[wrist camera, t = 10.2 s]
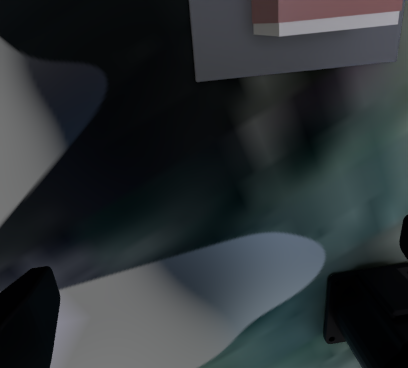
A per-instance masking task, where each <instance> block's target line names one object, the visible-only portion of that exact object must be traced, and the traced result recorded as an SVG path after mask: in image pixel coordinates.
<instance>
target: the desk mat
mask: <svg viewBox="0 0 408 368" xmlns="http://www.w3.org/2000/svg"><path fill="white" fill-rule="evenodd" d="M404 5H405V0H403V3H402V11H400V12H399V20H398V24H396V25H387V26H377V27H367V28H358V29H348V30H338V31H329V32H319V33H309V34H299V35H290V36H280V37H278V36H266V35H254V29H253V24H252V3H251V0H189V11H190V22H191V34H192V45H193V57H194V68H195V80H196V82H202V81H211V80H221V79H231V78H241V77H250V76H260V75H270V74H279V73H289V72H299V71H309V70H318V69H328V68H338V67H347V66H357V65H367V64H376V63H386V62H396V61H397V55H398V48H399V41H400V34H401V27H402V20H403V13H404Z"/></svg>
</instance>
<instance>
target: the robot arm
mask: <svg viewBox="0 0 408 368" xmlns="http://www.w3.org/2000/svg"><path fill="white" fill-rule="evenodd" d="M400 248H401V250H402V252H403V254H404V255H405V257H406V258H407V260H408V215H407V216H405V218H404V220H403V224H402V230H401V235H400ZM337 280H338V281H337ZM335 281H337V282H335ZM59 306H60V293H59V290H58V286H57V283H56V280H55V277H54V274H53V271H52V269H51V268H50V267H48V266H44V267H37V268H32V269H30V270H29V271H27V272H26V273H25V274H23V275H22V276H21V277H20V278H18V279H17V280H16V281H14V282H13V283H12V284H11V285H9V286H8V287H7V288H5V289H4V290H3V291H2V292H0V368H50V364H51V359H52V353H53V347H54V340H55V333H56V327H57V320H58V313H59ZM324 339H325V341H326V342H327V343H328V344H333V343H339V342H345V341H346V342H347V344H348V345H349V347H350V349H351V350H352V352H353V354H354V355H355V357H356V358H357V360H358V362H359V363H360V365H361V367H362V368H408V263H404V264H397V265H391V266H384V267H378V268H371V269H365V270H358V271H352V272H345V273H339V274H334V275H332V276H330V278H329V280H328V290H327V301H326V313H325V325H324Z"/></svg>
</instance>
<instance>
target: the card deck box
mask: <svg viewBox="0 0 408 368" xmlns="http://www.w3.org/2000/svg"><path fill="white" fill-rule="evenodd" d="M251 3H252V24H253V29H254V35H266V36H278V37H280V36H290V35H299V34H309V33H319V32H329V31H338V30H348V29H358V28H367V27H377V26H387V25H396V24H398V20H399V12H400V11H402V3H403V0H251Z"/></svg>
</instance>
